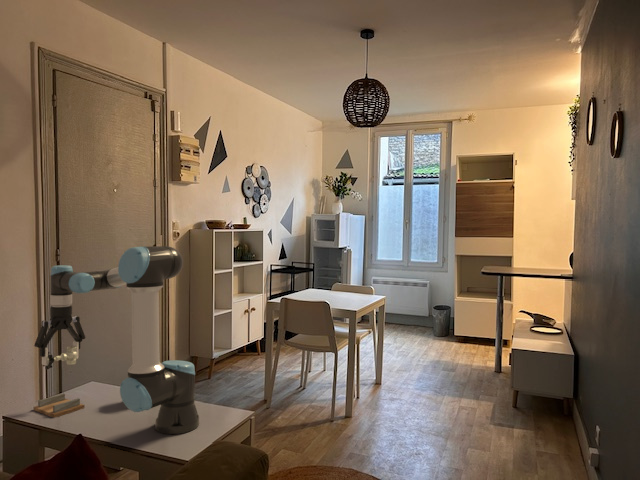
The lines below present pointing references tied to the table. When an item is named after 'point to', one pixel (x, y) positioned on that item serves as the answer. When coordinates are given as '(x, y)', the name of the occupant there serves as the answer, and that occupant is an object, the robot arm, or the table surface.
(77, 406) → the board
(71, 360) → the valve
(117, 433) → the table surface
